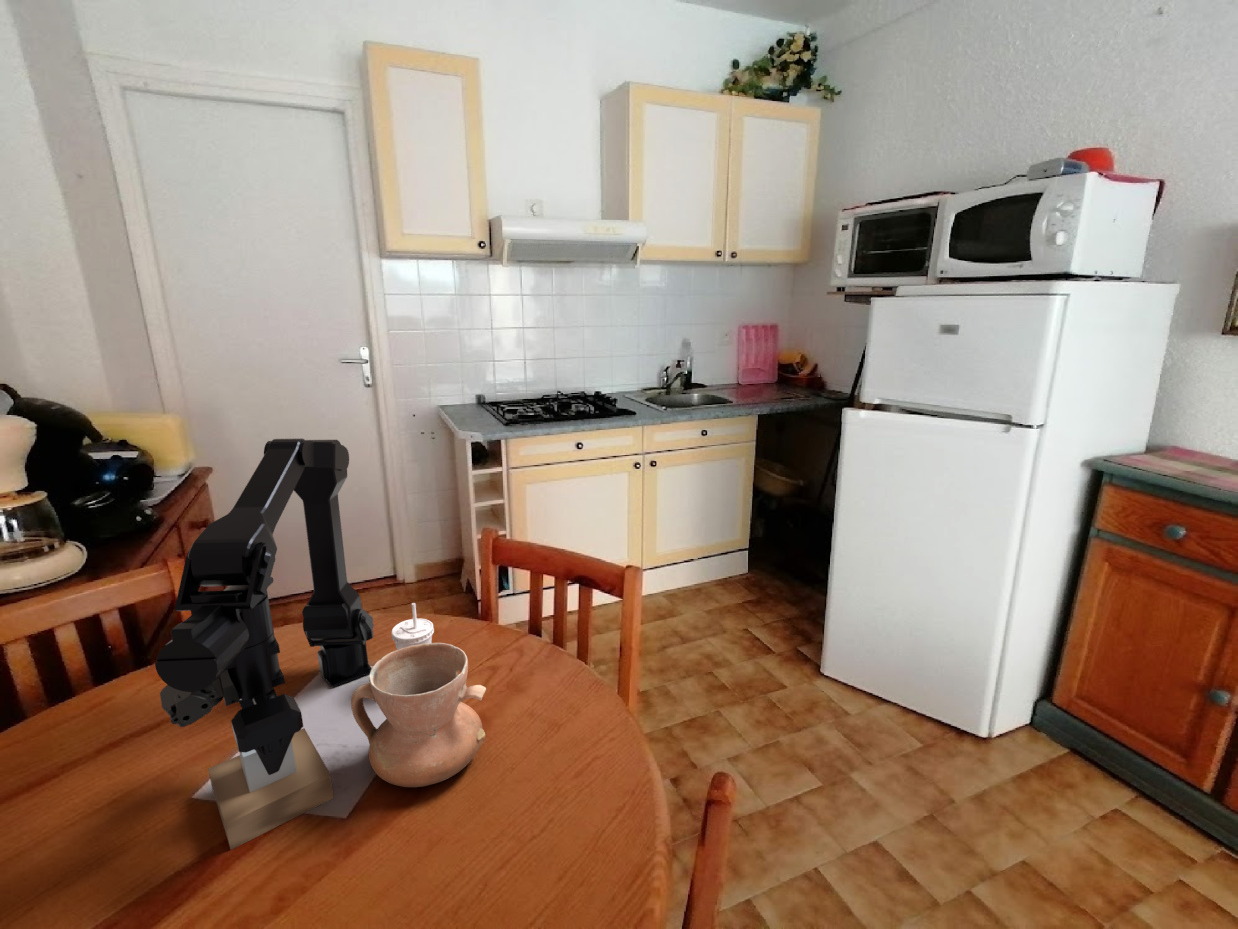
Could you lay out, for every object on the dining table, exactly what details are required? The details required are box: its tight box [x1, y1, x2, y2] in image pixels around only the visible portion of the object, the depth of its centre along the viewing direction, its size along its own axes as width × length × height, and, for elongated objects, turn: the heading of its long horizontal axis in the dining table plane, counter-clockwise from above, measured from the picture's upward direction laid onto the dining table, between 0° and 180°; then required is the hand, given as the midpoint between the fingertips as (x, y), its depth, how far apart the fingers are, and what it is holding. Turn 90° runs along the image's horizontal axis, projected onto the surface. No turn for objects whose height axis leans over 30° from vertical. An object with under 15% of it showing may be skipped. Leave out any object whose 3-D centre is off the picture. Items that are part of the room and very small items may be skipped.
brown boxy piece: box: [207, 727, 335, 851], centre depth 74 cm, size 11×11×4 cm
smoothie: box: [391, 602, 435, 650], centre depth 95 cm, size 6×6×14 cm
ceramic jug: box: [350, 642, 487, 788], centre depth 79 cm, size 18×14×14 cm
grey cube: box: [238, 741, 297, 792], centre depth 73 cm, size 5×5×5 cm
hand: (265, 750), depth 73 cm, fingers open, 9 cm apart
